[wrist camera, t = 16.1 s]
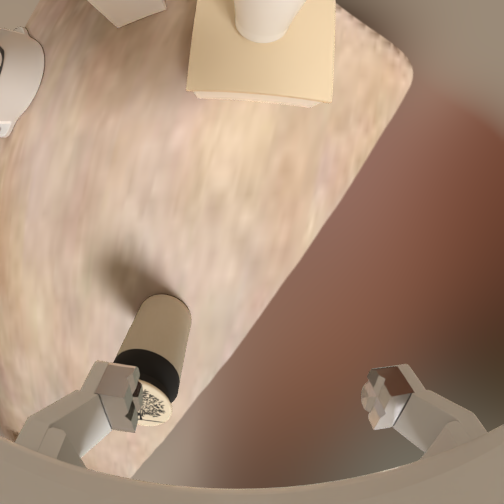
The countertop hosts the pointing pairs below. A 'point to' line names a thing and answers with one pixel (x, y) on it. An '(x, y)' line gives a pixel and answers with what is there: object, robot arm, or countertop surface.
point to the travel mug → (157, 354)
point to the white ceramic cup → (265, 18)
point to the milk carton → (127, 9)
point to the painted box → (263, 57)
